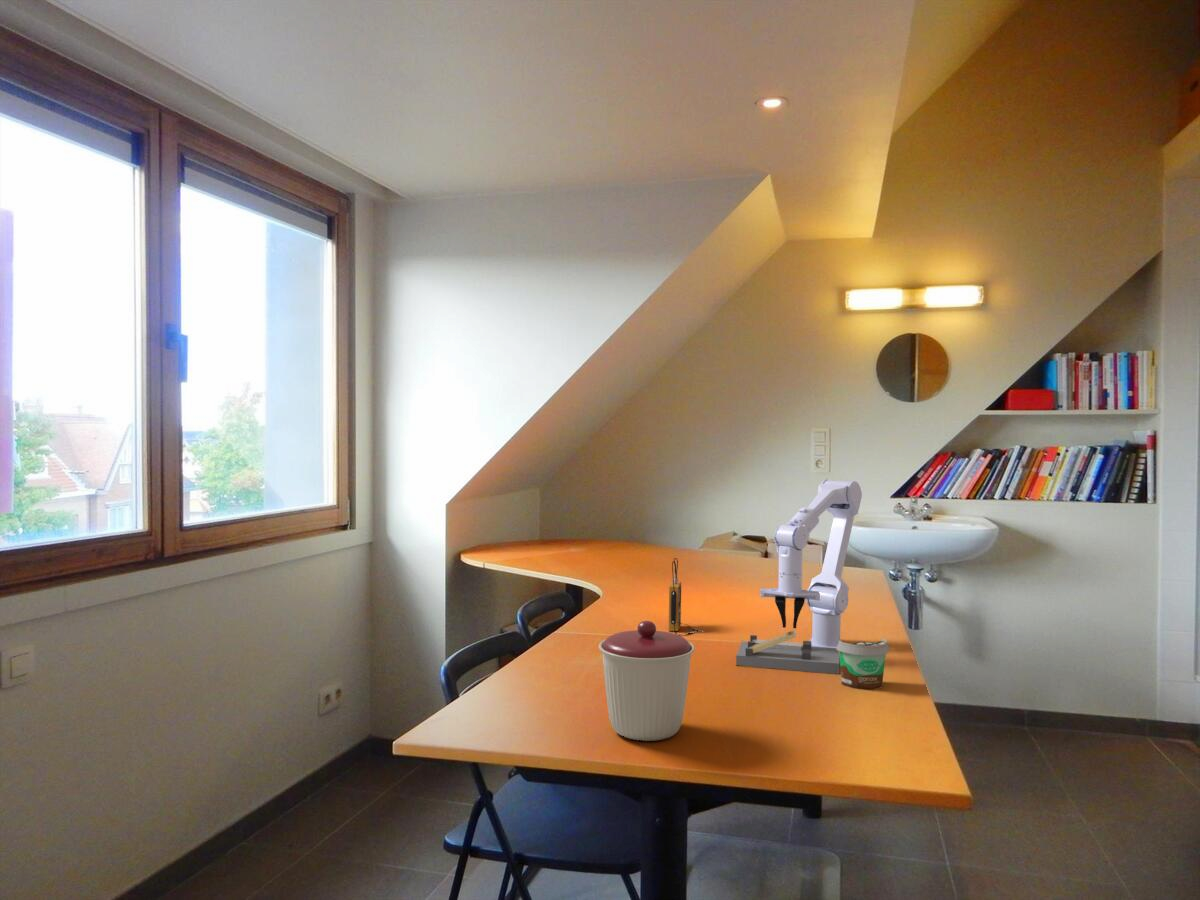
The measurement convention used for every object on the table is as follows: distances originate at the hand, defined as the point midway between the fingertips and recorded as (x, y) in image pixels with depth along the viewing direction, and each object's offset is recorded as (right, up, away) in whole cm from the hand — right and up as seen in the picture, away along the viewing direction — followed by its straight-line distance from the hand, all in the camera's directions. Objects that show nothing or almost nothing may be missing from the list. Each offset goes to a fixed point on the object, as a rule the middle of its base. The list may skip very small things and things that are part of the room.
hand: (789, 627), depth 212 cm
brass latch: (-6, -3, -7) cm, 9 cm away
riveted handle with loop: (-23, -7, +28) cm, 37 cm away
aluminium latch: (-3, -5, +1) cm, 6 cm away
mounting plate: (-1, -8, -4) cm, 9 cm away
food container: (+12, -9, -23) cm, 27 cm away
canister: (-39, -9, -52) cm, 65 cm away
